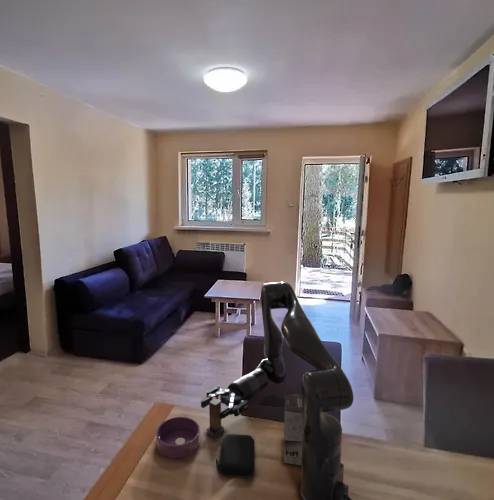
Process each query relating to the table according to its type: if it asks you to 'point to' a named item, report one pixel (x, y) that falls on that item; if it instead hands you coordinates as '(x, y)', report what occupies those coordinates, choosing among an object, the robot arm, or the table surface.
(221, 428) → the brown wooden block
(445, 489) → the table surface
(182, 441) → the beige disc
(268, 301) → the robot arm
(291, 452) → the coffee box
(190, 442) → the bowl
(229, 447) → the carrying case
